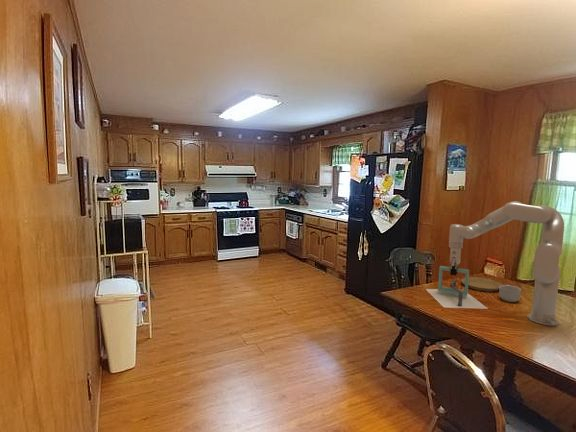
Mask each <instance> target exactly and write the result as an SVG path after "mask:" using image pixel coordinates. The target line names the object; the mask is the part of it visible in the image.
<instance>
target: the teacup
mask: <svg viewBox="0 0 576 432" xmlns="http://www.w3.org/2000/svg"><path fill="white" fill-rule="evenodd" d="M498 291H499V292H498V293H499V294H498V295H499V297H500V299H502V300H503V301H505V302H509V303H516V302H518V301H520V299H521V291H522V288H520V287H518V286H515V285H510V284H506V285H505V284H502V286H500V287H499V290H498Z"/></svg>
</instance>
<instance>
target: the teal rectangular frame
mask: <svg viewBox="0 0 576 432" xmlns="http://www.w3.org/2000/svg"><path fill="white" fill-rule="evenodd" d="M438 269H439V270H438V285H437V289H438V291H440V292H446V293H452V294H457V295H459V293H458V292H456V291H455V290H454V289H453V288H451V287H447V286H443V274H444V272H443V271H447V272H451V266H445V265H440V266H439V267H438ZM456 269H457V273H461V274H465V277H464V278H465V285H464V289H460V288H458V289H459V290H460V291H461V292H462V293H463V296H467V294H469V288H468V282H469V277H470V269H469V268H467V269H466V268H460V267H459V268H456Z"/></svg>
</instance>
